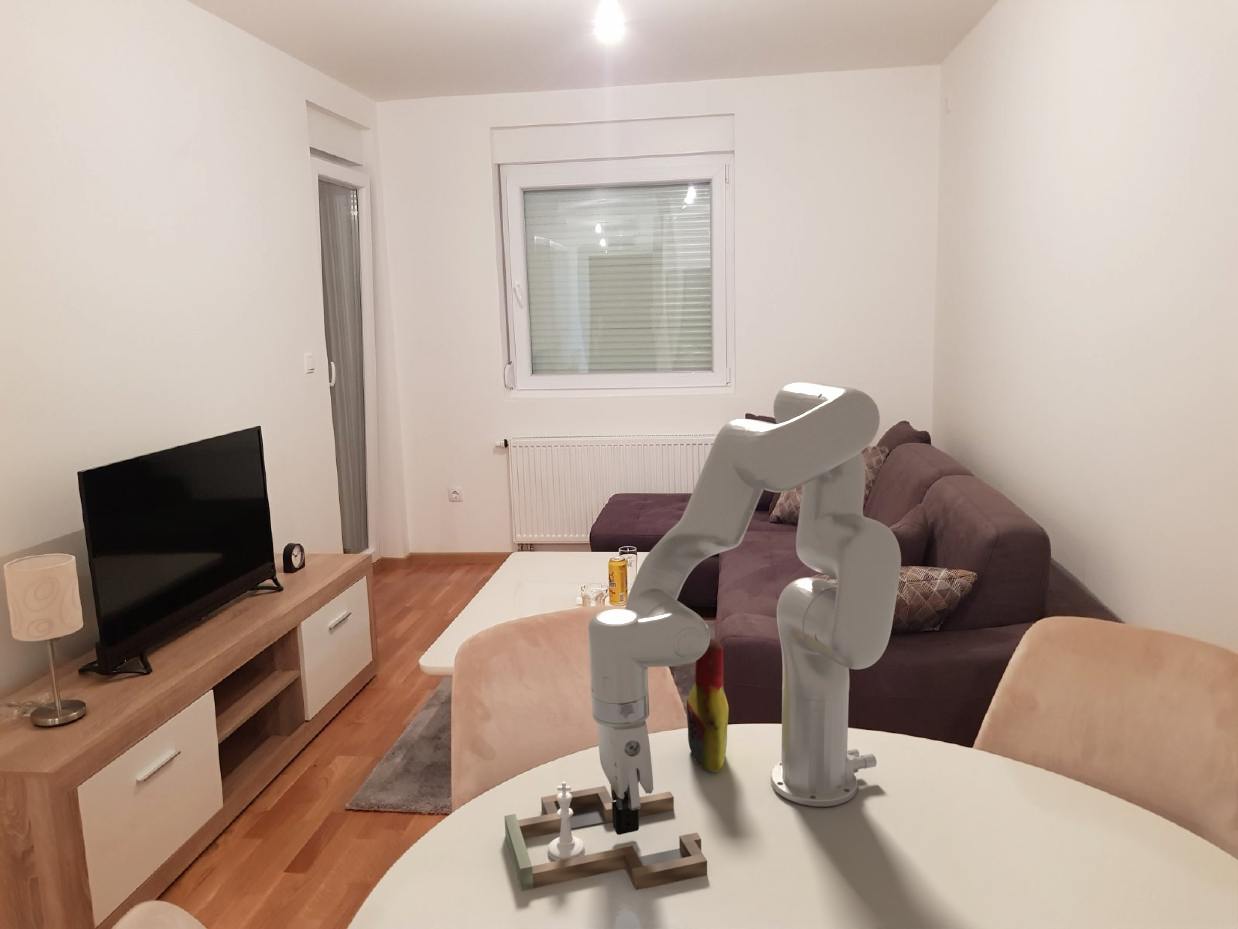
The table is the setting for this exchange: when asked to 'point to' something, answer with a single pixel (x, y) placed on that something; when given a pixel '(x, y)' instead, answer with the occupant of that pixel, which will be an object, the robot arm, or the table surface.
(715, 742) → the bottle
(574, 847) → the chess piece
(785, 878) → the table surface
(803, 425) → the robot arm
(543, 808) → the trap lane
